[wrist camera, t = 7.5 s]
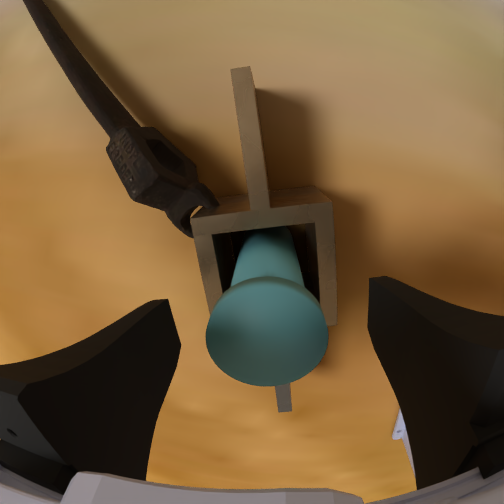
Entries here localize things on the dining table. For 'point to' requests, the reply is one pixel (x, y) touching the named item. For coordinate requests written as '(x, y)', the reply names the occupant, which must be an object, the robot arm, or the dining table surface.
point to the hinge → (265, 220)
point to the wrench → (129, 136)
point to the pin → (267, 315)
